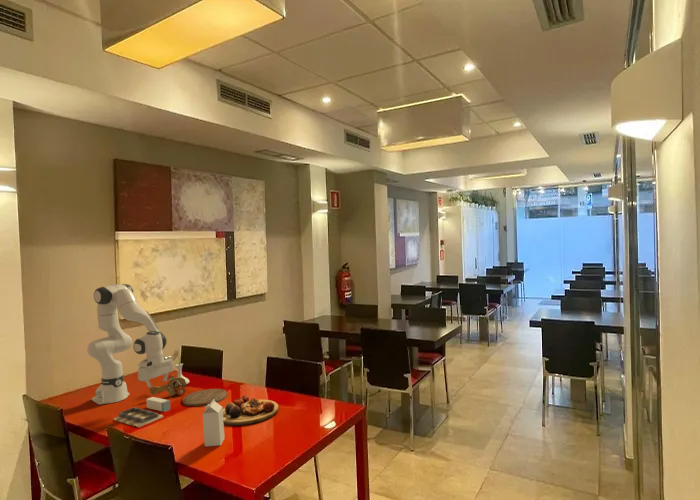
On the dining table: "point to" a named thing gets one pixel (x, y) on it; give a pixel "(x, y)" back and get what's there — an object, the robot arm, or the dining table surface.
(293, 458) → the dining table surface
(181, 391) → the toy cannon
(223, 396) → the trivet
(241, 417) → the wooden plate with food
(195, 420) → the dining table surface
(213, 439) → the milk carton
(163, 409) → the white rectangular block
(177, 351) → the flower in vase
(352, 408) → the dining table surface
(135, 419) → the tray
